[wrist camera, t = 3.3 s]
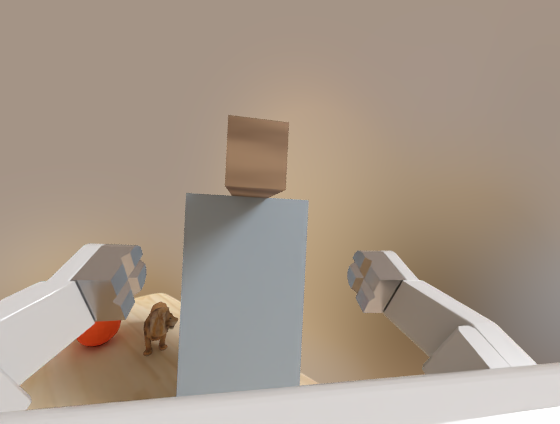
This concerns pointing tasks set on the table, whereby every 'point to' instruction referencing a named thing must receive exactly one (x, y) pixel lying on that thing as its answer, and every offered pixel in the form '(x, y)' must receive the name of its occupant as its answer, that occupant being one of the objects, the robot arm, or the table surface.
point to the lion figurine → (158, 326)
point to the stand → (241, 293)
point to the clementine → (99, 333)
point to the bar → (256, 157)
